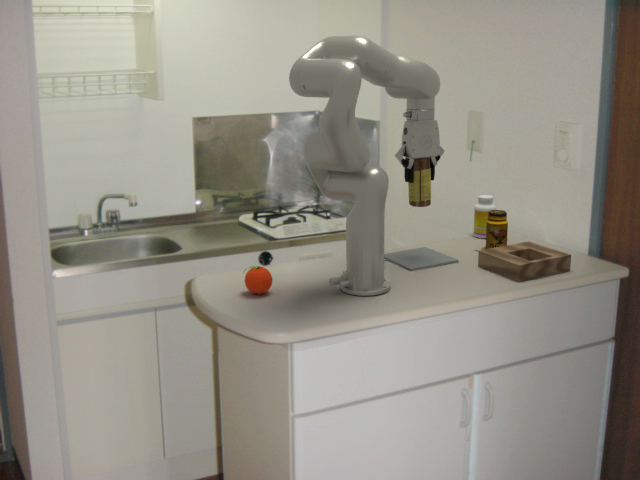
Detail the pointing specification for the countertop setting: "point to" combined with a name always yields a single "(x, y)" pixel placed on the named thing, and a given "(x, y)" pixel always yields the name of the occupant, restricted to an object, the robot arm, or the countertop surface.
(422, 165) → the sauce bottle
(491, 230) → the condiment
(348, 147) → the robot arm
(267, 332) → the countertop surface
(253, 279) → the clementine
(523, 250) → the socket block
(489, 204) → the supplement bottle
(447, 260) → the rubber mat
